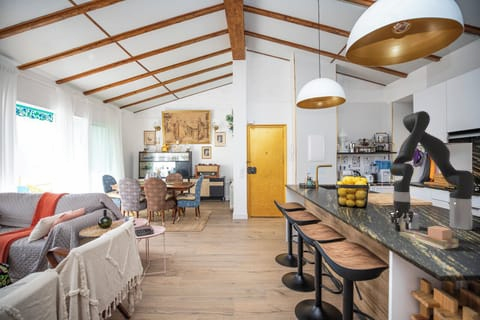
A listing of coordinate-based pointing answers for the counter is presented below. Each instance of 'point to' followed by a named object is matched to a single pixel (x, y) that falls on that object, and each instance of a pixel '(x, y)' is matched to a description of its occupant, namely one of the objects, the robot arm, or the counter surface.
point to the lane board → (431, 240)
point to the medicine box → (414, 222)
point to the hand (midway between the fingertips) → (402, 230)
